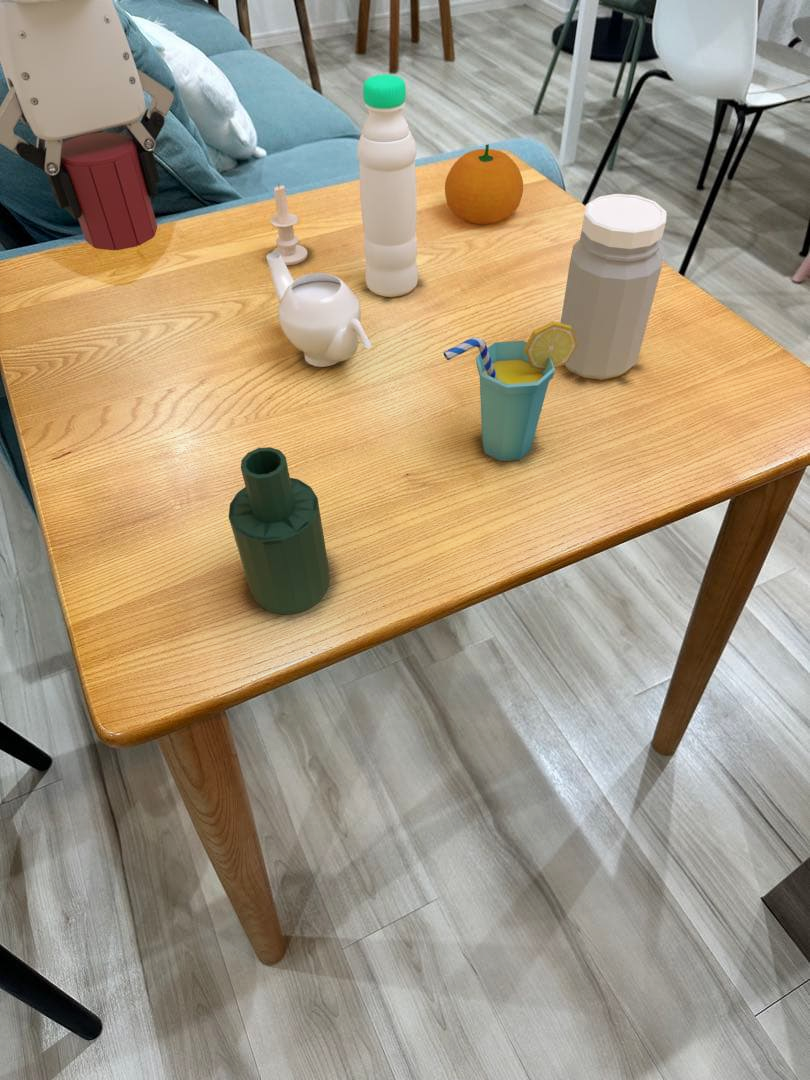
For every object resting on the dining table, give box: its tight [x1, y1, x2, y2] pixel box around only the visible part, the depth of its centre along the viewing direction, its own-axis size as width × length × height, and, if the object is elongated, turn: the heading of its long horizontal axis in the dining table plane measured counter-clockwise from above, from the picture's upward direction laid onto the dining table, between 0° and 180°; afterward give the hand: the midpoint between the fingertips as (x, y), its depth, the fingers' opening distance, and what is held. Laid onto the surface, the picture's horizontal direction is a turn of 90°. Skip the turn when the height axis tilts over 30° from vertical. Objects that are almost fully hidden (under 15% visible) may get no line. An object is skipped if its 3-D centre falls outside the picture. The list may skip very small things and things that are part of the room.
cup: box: [443, 320, 578, 462], centre depth 74 cm, size 14×8×15 cm, turn 118°
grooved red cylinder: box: [60, 132, 158, 251], centre depth 69 cm, size 7×7×8 cm
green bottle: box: [228, 446, 331, 615], centre depth 62 cm, size 7×7×15 cm
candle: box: [269, 182, 309, 266], centre depth 103 cm, size 5×5×10 cm
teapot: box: [265, 251, 373, 368], centre depth 87 cm, size 10×20×9 cm, turn 38°
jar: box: [560, 193, 667, 381], centre depth 82 cm, size 10×10×18 cm
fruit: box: [444, 144, 524, 225], centre depth 110 cm, size 12×12×10 cm
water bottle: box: [356, 73, 419, 298], centre depth 92 cm, size 7×7×25 cm
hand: (111, 200), depth 70 cm, fingers closed on grooved red cylinder, 6 cm apart
